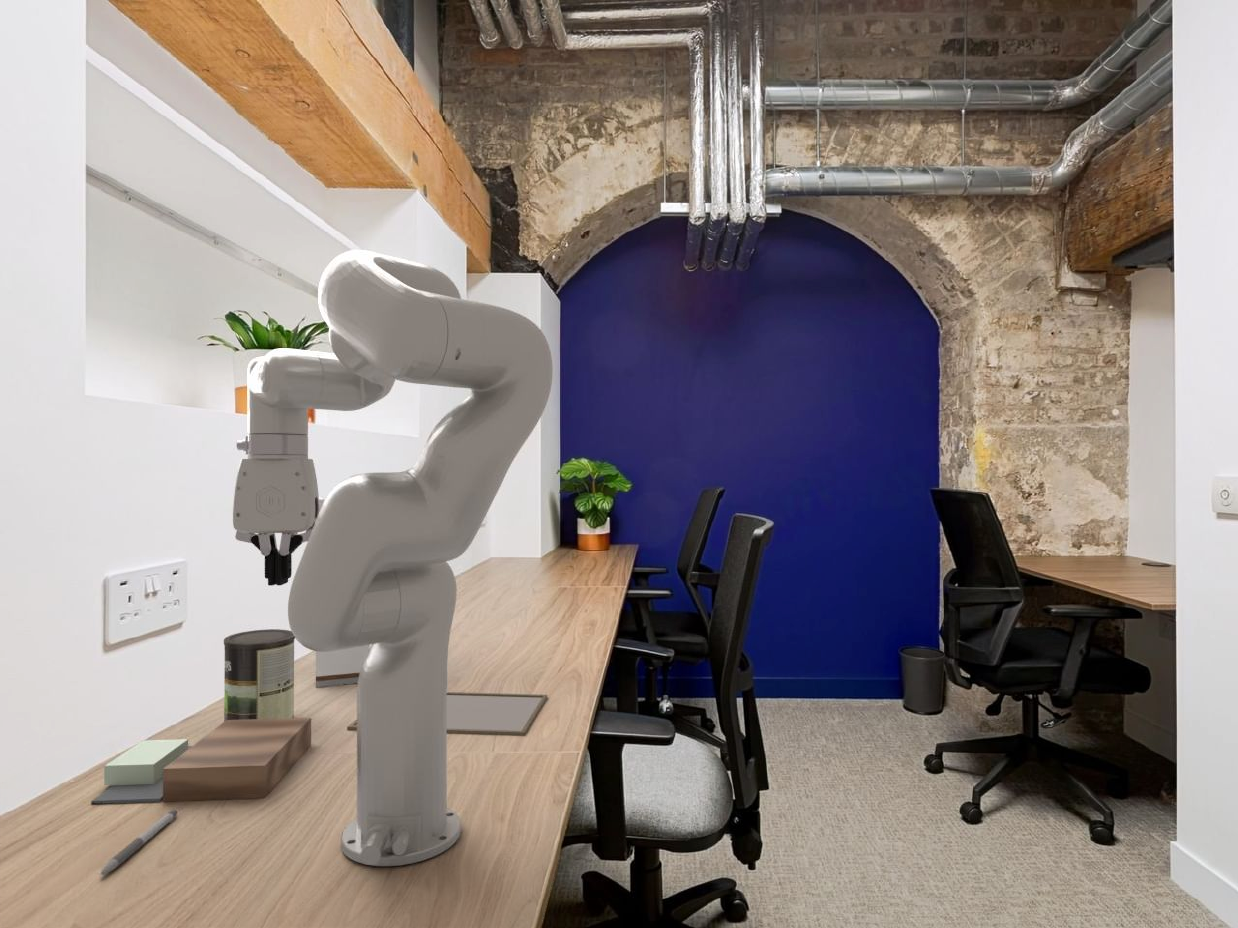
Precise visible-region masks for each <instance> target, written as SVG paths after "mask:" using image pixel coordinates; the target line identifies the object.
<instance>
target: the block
mask: <svg viewBox="0 0 1238 928" xmlns="http://www.w3.org/2000/svg"><path fill="white" fill-rule="evenodd" d="M188 746H189V739H186V738H185V739H149V740H148V739H146V740H145V739H144V740H142V741H140V742H138V743H137V744H135V745H133V747H131V748H129V749H128V750H126V751H125V752H123V753H122V754H119V756H117V757H116V758H114V759H113V760H111V761H109V762H108V763H107V764H105V765H104V767H103V768H104V772H103V773H104V774H103V775H104V778H103V779H104V780H103V785H104V786H113V785H135V784H154V783H155V782H157V781H158V780H159V779H161V778H162V777H163V768H165V767H166V766H167V765H169V764H170V763H171V762H173V761H174V760H175V759H176V758H178V757H179V756H180V755H182V754H183V753H184V752H186V751H187V750H188Z"/></svg>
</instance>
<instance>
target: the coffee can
mask: <svg viewBox="0 0 1238 928" xmlns="http://www.w3.org/2000/svg"><path fill="white" fill-rule="evenodd" d="M295 640H296V638H295V637H294V635H293V633H292V631H291V630H289V629H278V628H277V629H273V628H272V629H257V630H256V629H255V630H249V631H242V632H237V633H233V634H230V635H228V636H226V637H225V638H224V639H223V645H224V697H223V698H224V701H223V702H224V705H223V706H224V707H223V709H224V711H223V714H224V715H223V717H224V719H223V722H225V721H226V720H246V719H282V718H295V714H294V713H295V710H294V709H295Z"/></svg>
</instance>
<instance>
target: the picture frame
mask: <svg viewBox="0 0 1238 928" xmlns="http://www.w3.org/2000/svg"><path fill="white" fill-rule="evenodd" d="M547 699H548V694H538V693H537V694H533V693H501V692H500V693H497V692H496V693H495V692H463V691H462V692H460V691H447V735H448V734H452V735H479V736H480V735H484V736H510V737H511V736H516V737H518V736H519V737H520V736H521V737H525V736H526V734H527V732H528V731H529V729H530V727H531V726H532V724H533V722H534V721H535V719H536V717H537V716H538V714H539V712H540V711H541V710H542V707H543V706H544V704H545V703H546V701H547ZM346 731H352V732H353V731H355V732H357V719H355V720H354V721H353V722H351V723H350V724H349V725H347V726H346Z"/></svg>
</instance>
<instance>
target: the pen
mask: <svg viewBox="0 0 1238 928" xmlns="http://www.w3.org/2000/svg"><path fill="white" fill-rule="evenodd" d="M177 814H178V809H171V810H169V811H168V812H167V813H165V815H163V816H162V817H160V818H159V820H157V821H156V822H154V824H152V825H151V826H150V827H149V828H148V829H146V830H145V831H144V832H143V833H141V834H140V835H138V837H136V838H135V839H134V840H133V841H132V842H130V843H129V844H128V845H127V846H125V847H124V848H123V849H122V850H120V851H119V852H118V853H117V854H115V855H114V856H113V857H112V858H111V859H110V860H109V861H108V862H107V863H106V864H105V865H104V866H103V867H102V869H101V871H100V875H106V874H109V873H111V872H112V871H114V870H115V869H116V868H118V867H119V866H120V865H122V864H123V863H124V862H125V861H126V860H127V859H128V858H129V857H131V856H132V855H133V854H134V853H135V852H137V851H138V850H139V849H140V848H141V847H142V846H143V845H145V843H147V841H149V840H150V839H152V838H153V837H154V835H156V834H157V833H158V832H159V831H160V830H162V829H163V828H164V827H165V826H166V825H167V824H171V823H173V821H174V820H175V817H176V816H177Z"/></svg>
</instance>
